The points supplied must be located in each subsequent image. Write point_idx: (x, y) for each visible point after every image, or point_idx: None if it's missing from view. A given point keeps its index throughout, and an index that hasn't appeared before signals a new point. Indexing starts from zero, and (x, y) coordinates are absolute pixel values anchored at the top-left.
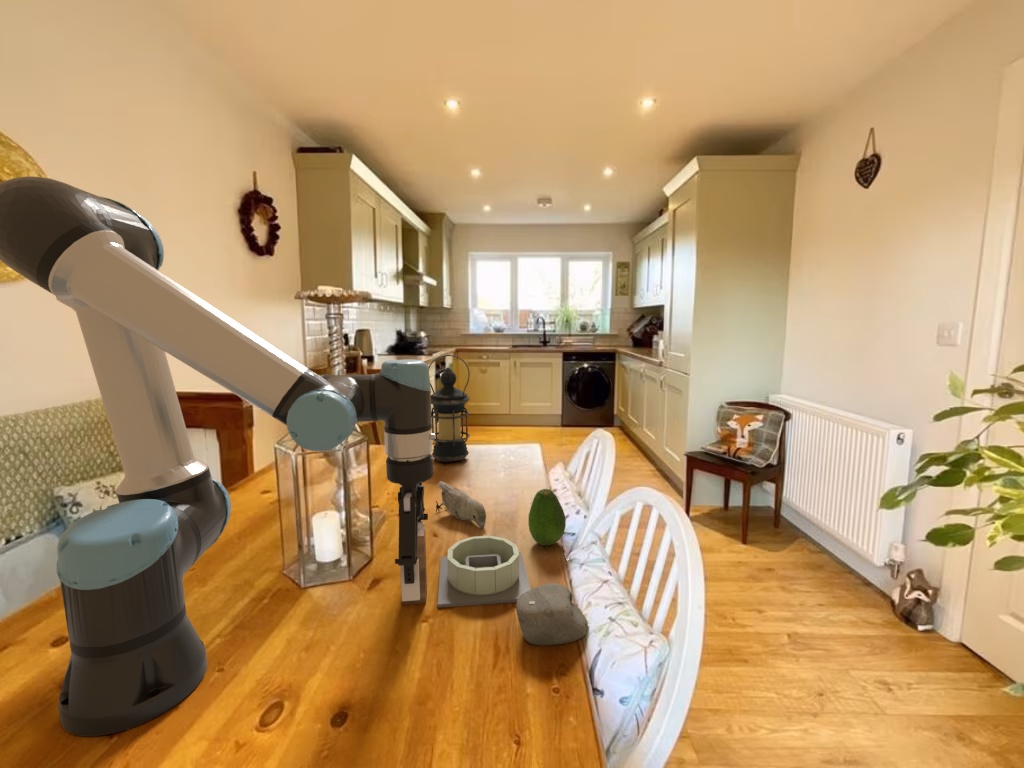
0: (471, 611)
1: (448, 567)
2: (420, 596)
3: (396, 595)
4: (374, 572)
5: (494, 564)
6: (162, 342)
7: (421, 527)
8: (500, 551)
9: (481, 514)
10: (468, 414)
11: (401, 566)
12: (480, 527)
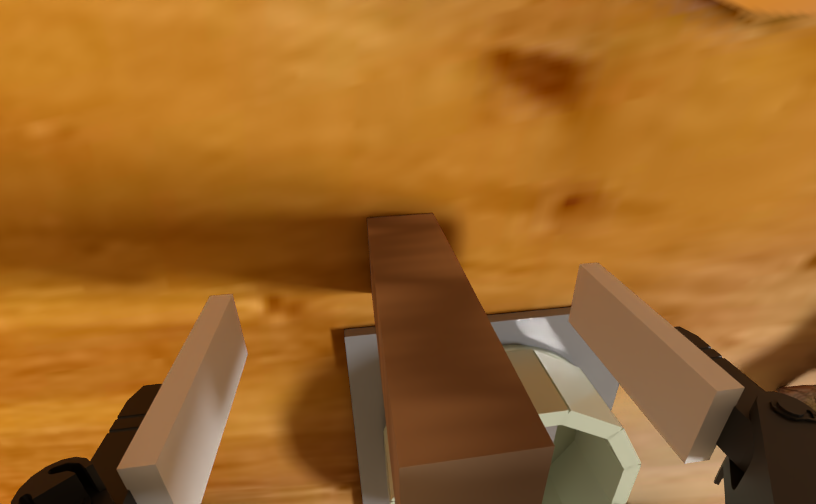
0: (323, 409)
1: None
2: (372, 292)
3: (432, 187)
4: (633, 55)
5: None
6: None
7: (669, 426)
8: (563, 488)
9: None
10: None
11: (133, 444)
12: (783, 389)
